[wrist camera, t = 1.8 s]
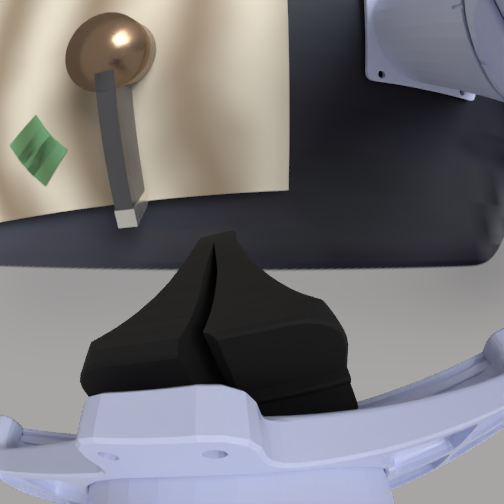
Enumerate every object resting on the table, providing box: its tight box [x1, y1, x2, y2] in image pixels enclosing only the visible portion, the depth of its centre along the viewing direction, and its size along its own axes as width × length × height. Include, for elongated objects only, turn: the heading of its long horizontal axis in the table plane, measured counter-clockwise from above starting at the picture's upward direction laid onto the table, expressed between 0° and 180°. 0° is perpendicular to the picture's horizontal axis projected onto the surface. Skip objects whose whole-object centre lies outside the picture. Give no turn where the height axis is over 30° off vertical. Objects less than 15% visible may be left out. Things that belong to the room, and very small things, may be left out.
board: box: [0, 0, 289, 222], centre depth 14 cm, size 22×16×1 cm
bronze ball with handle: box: [65, 12, 156, 228], centre depth 14 cm, size 11×4×3 cm, turn 1°
